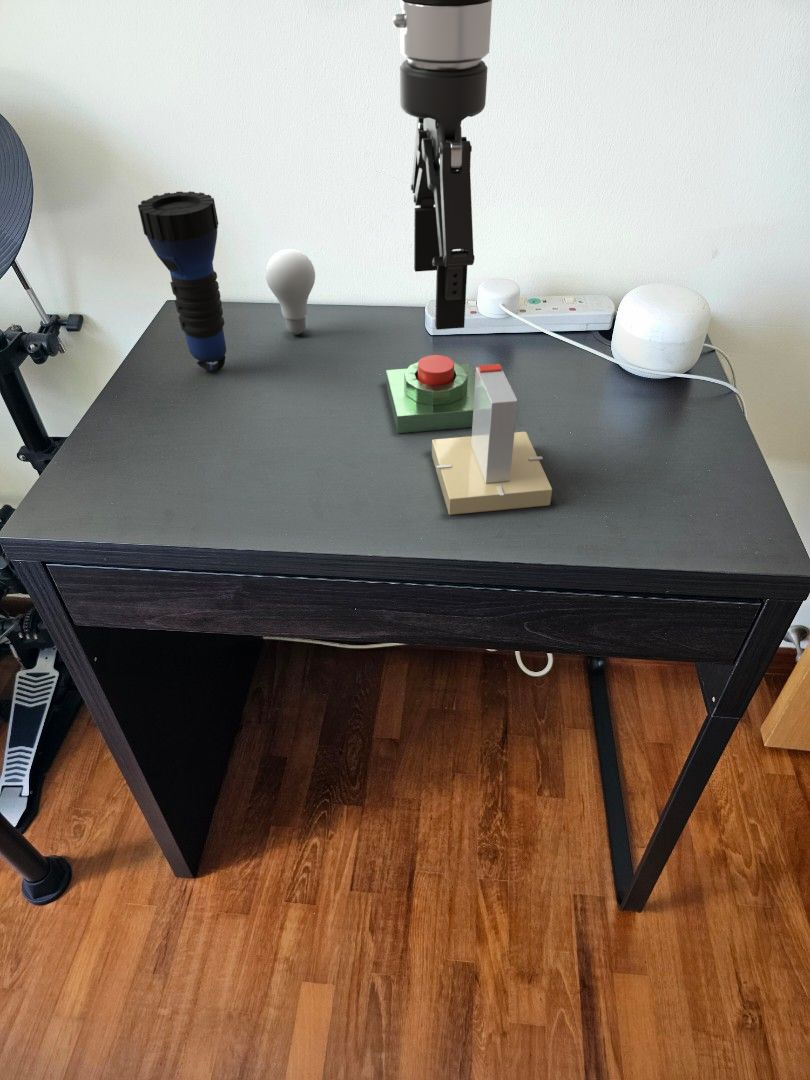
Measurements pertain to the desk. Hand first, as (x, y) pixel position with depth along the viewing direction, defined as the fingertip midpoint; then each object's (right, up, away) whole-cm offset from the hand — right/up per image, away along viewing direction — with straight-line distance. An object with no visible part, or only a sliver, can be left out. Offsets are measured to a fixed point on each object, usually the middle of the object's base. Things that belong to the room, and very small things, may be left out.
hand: (437, 296), depth 81 cm
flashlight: (-27, -5, +15) cm, 32 cm away
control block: (0, -10, +9) cm, 13 cm away
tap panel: (+5, -19, -2) cm, 20 cm away
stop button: (0, -7, +6) cm, 9 cm away
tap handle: (+5, -17, -3) cm, 18 cm away
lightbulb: (-18, +2, +22) cm, 28 cm away
